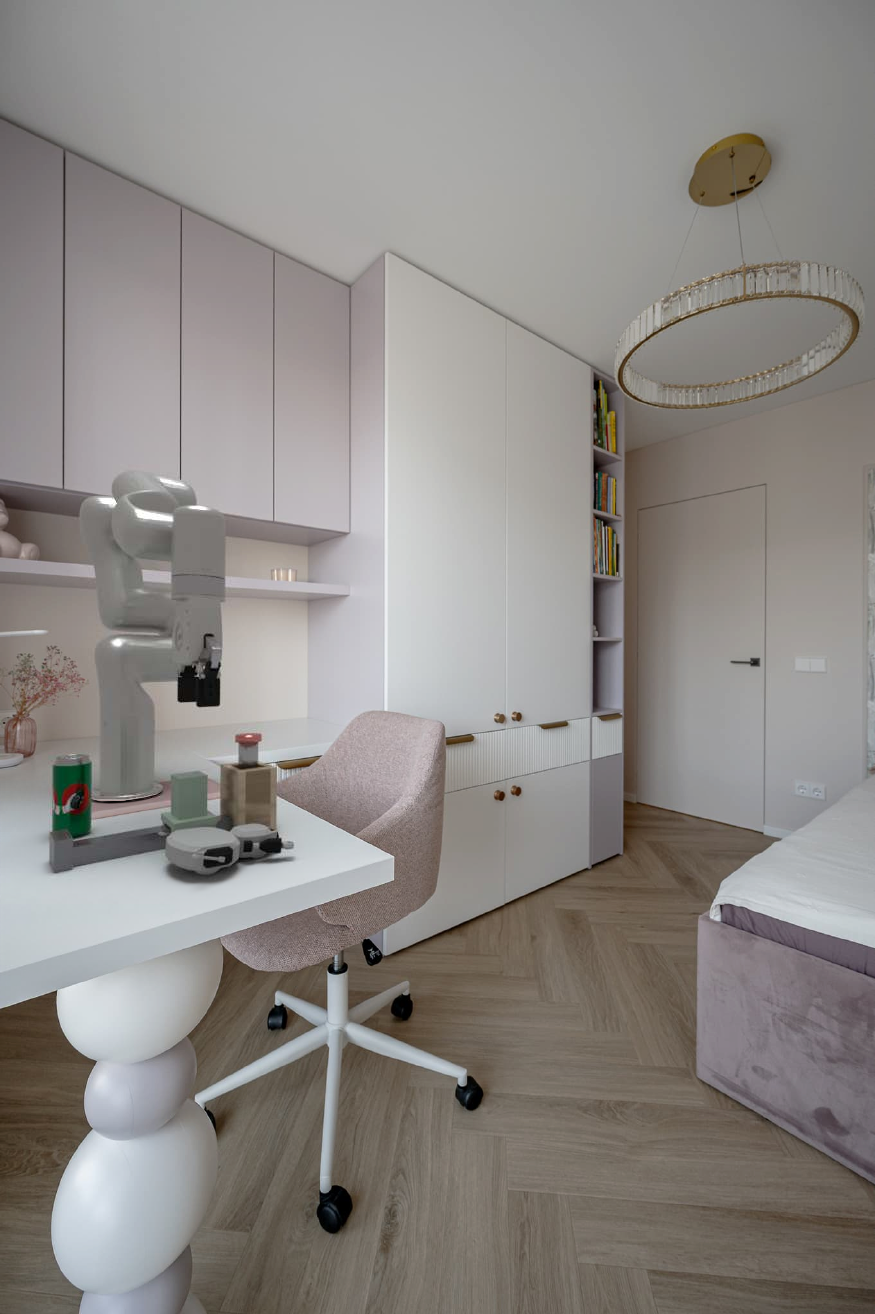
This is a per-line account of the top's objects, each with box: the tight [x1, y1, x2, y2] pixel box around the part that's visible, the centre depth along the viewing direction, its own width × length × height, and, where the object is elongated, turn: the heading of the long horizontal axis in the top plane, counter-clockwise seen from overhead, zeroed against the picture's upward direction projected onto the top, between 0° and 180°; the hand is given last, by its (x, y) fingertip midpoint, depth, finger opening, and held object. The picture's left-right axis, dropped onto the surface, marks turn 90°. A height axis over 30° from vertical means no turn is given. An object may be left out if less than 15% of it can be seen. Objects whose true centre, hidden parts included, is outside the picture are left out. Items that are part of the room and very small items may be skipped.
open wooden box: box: [219, 760, 278, 830], centre depth 90 cm, size 8×6×10 cm
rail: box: [48, 814, 233, 874], centre depth 81 cm, size 5×24×4 cm, turn 130°
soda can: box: [51, 753, 93, 839], centre depth 86 cm, size 5×5×12 cm
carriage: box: [160, 770, 219, 833], centre depth 84 cm, size 7×6×10 cm
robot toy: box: [158, 824, 295, 876], centre depth 76 cm, size 12×4×15 cm
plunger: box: [234, 732, 263, 770], centre depth 90 cm, size 4×4×6 cm
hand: (198, 704), depth 85 cm, fingers open, 9 cm apart
